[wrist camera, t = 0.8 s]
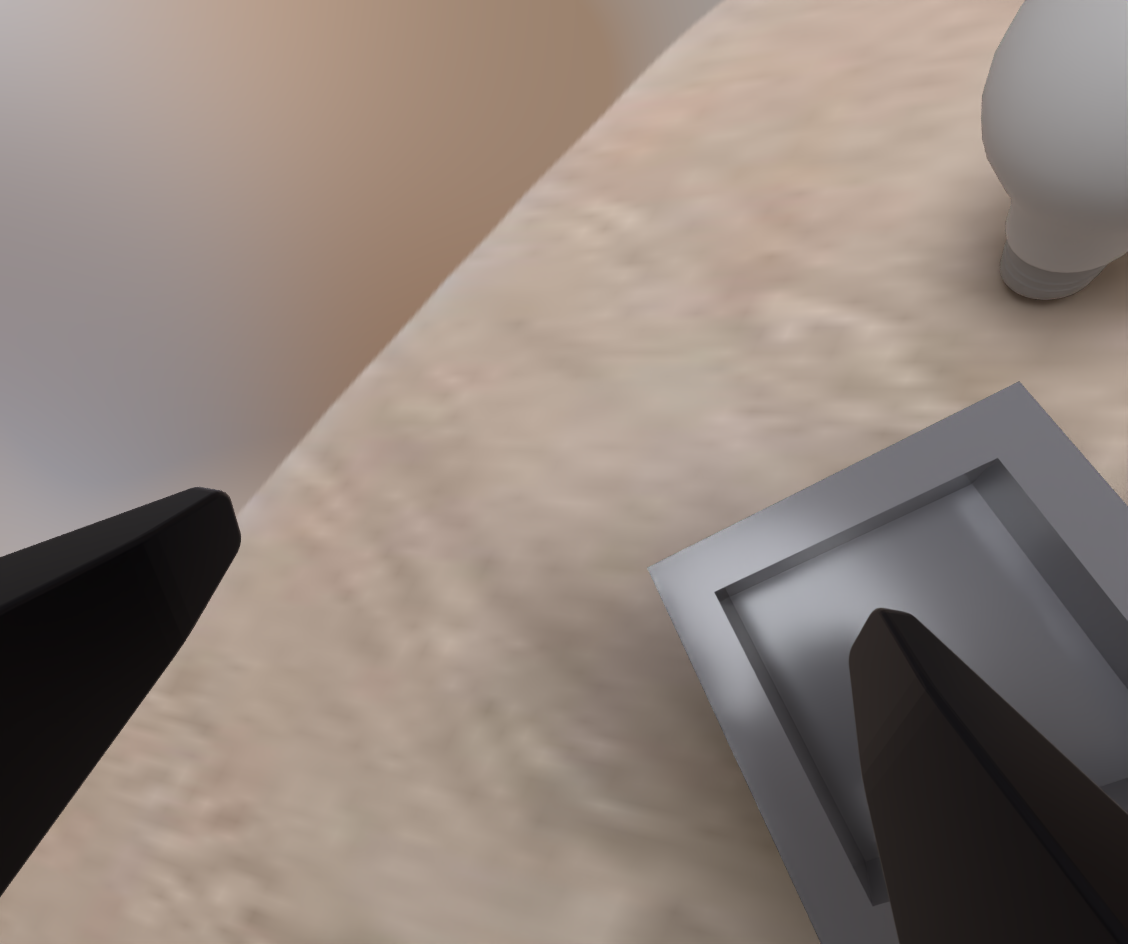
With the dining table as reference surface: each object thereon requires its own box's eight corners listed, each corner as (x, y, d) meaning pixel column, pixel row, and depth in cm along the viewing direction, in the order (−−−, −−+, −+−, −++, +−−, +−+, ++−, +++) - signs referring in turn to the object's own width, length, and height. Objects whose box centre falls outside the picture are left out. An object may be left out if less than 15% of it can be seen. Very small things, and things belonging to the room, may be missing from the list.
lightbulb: (1226, 279, 17) (1775, -206, 7) (1021, 402, 18) (1246, 138, 8) (1057, 159, 19) (1289, -317, 10) (889, 275, 21) (942, -40, 11)
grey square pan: (1785, 1371, 10) (2266, 1744, 7) (1054, 1415, 13) (1133, 1688, 10) (990, 406, 18) (1026, 356, 15) (658, 570, 21) (626, 560, 18)
